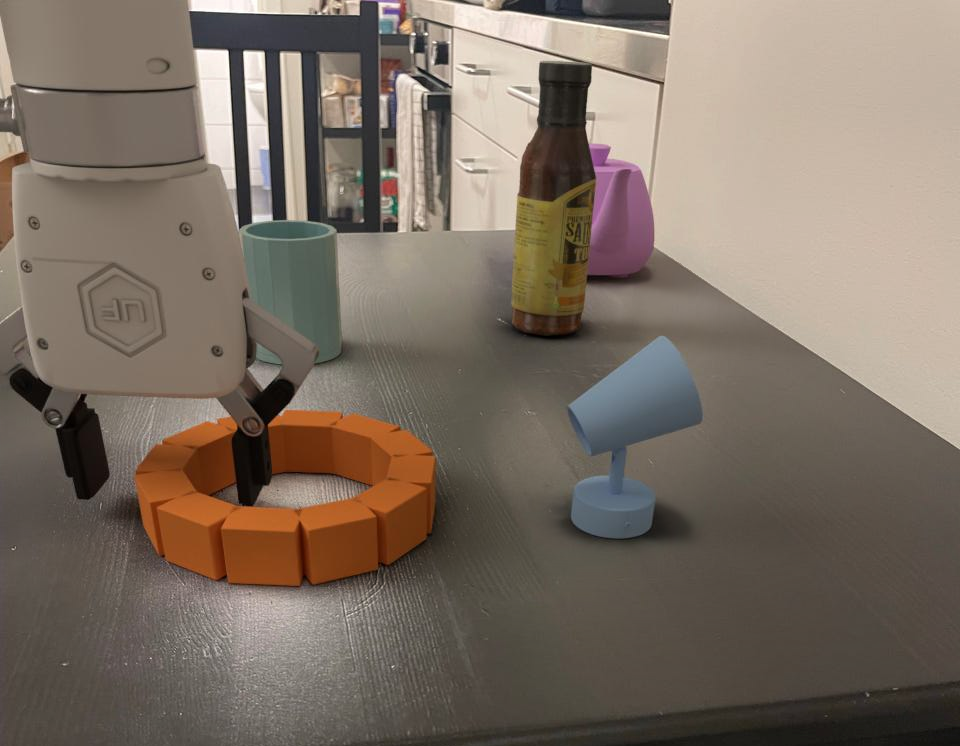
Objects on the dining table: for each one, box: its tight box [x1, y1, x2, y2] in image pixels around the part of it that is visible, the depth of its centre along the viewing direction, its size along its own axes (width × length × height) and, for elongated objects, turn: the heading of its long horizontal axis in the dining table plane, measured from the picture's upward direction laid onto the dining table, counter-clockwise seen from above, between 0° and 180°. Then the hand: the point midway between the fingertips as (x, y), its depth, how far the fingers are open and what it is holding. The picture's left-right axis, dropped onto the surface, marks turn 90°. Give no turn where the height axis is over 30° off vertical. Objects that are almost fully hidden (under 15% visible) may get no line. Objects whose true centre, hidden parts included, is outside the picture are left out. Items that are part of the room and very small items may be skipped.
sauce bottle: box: [510, 60, 596, 337], centre depth 78 cm, size 7×6×20 cm
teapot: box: [587, 143, 655, 279], centre depth 98 cm, size 20×13×12 cm, turn 10°
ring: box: [134, 409, 437, 587], centre depth 52 cm, size 15×15×3 cm
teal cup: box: [238, 219, 343, 365], centre depth 74 cm, size 7×7×9 cm
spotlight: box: [566, 335, 704, 539], centre depth 51 cm, size 5×10×7 cm
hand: (173, 491), depth 53 cm, fingers open, 8 cm apart
